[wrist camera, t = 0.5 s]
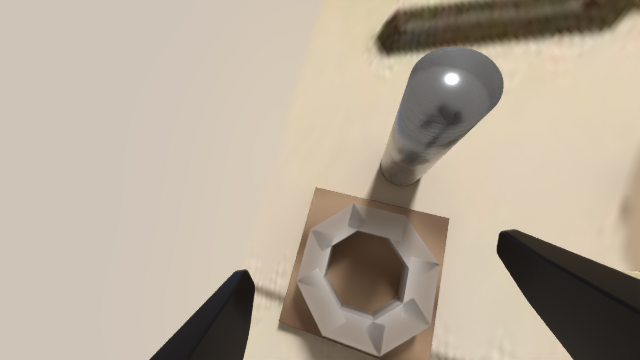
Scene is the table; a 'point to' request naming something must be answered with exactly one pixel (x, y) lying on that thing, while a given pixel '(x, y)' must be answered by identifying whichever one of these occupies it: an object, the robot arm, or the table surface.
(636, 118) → the table surface
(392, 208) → the bore block
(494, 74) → the metal pin
